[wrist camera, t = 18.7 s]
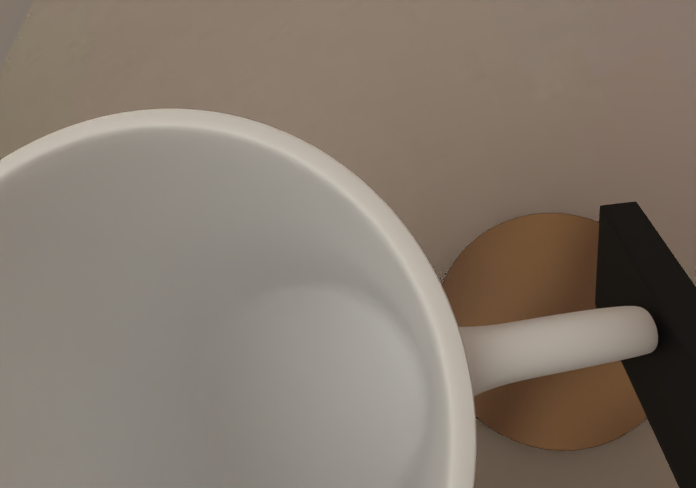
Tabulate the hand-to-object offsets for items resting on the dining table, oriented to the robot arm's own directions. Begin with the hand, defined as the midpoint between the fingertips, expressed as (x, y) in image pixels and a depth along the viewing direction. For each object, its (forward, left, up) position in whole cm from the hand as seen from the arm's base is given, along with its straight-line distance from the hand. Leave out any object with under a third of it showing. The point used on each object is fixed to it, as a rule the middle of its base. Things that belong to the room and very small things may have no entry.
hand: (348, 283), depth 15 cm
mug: (+1, -2, -4) cm, 5 cm away
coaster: (+7, +4, -19) cm, 21 cm away
